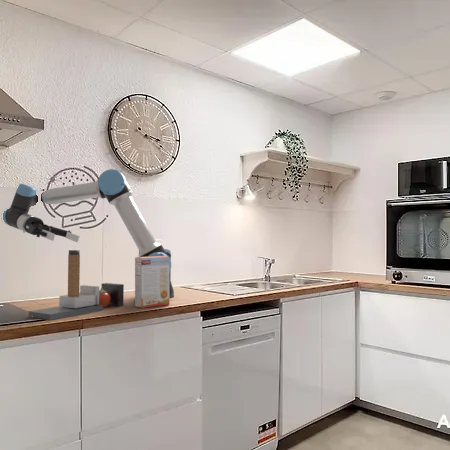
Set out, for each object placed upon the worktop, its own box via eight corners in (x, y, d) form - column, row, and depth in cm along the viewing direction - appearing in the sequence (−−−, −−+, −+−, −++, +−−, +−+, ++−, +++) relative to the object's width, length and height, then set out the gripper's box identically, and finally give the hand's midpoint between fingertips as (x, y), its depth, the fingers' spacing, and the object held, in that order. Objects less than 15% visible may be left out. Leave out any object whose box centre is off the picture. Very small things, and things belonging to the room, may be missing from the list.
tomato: (111, 305, 185) (111, 286, 185) (109, 308, 178) (110, 288, 178) (93, 305, 184) (93, 286, 184) (91, 308, 177) (91, 289, 177)
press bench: (104, 303, 190) (105, 282, 191) (125, 305, 184) (125, 284, 184) (28, 316, 159) (29, 291, 159) (50, 320, 152) (50, 294, 153)
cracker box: (162, 303, 192) (162, 255, 192) (169, 305, 187) (170, 256, 188) (133, 306, 183) (134, 256, 183) (141, 308, 178) (141, 257, 179)
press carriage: (83, 302, 178) (84, 249, 179) (99, 304, 174) (99, 250, 174) (59, 306, 168) (60, 250, 169) (74, 308, 164) (75, 250, 164)
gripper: (51, 234, 200) (84, 247, 191) (3, 230, 177) (39, 245, 169) (55, 219, 200) (89, 231, 191) (8, 213, 177) (44, 227, 168)
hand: (66, 238), depth 180 cm, fingers open, 13 cm apart
